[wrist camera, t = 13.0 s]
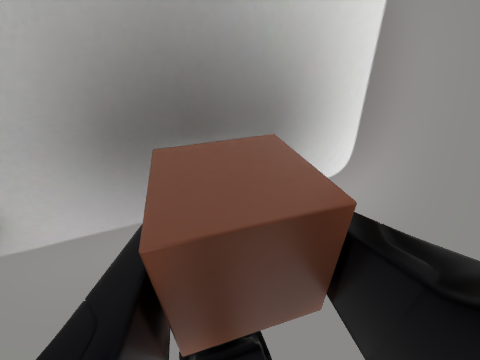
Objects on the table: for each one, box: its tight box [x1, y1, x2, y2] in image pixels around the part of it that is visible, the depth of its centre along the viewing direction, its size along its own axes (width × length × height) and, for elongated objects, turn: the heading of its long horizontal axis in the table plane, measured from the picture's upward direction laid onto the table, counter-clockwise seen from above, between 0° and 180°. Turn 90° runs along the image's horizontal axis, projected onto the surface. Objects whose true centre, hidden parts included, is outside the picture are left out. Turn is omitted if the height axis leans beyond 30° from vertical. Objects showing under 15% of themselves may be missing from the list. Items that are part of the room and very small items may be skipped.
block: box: [139, 134, 357, 357], centre depth 7 cm, size 4×4×4 cm
